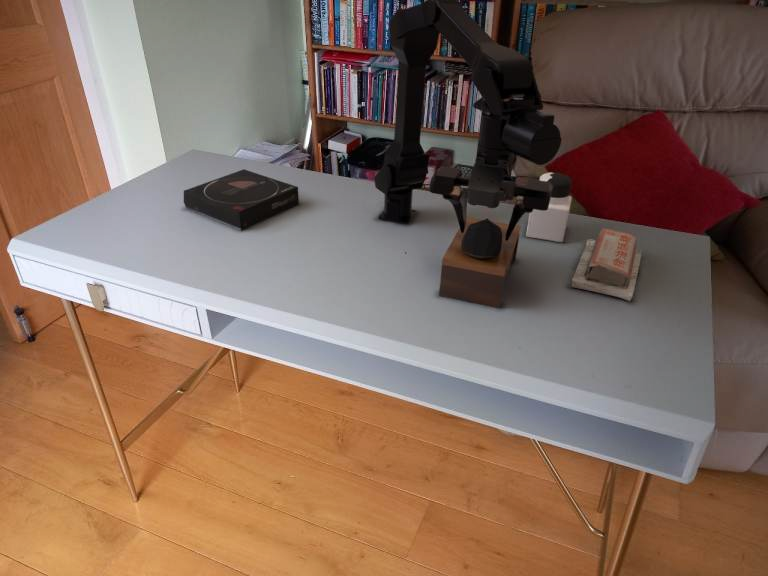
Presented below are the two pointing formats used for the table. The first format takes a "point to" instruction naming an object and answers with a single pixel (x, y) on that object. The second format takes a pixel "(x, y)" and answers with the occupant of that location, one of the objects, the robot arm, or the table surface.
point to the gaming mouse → (482, 239)
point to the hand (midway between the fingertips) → (484, 235)
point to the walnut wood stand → (477, 269)
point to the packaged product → (609, 265)
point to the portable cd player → (241, 198)
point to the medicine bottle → (552, 210)
